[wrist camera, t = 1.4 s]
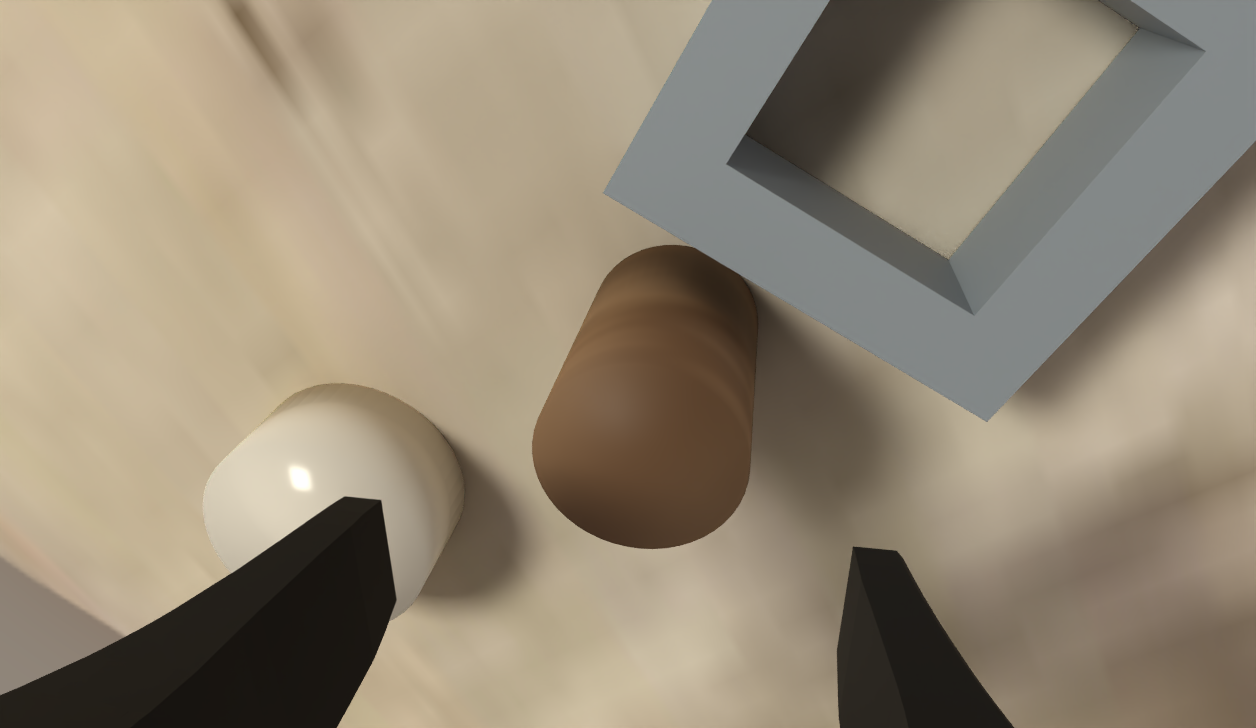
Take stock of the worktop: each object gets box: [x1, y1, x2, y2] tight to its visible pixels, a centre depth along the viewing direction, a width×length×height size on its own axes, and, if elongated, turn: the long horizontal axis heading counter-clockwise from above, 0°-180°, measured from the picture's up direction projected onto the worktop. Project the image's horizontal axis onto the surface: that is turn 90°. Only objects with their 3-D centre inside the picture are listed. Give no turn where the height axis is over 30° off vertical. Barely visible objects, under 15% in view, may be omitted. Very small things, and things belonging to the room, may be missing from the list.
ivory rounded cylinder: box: [203, 383, 465, 621], centre depth 24 cm, size 6×6×3 cm
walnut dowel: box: [532, 245, 758, 549], centre depth 19 cm, size 4×4×6 cm
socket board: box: [603, 0, 1256, 422], centre depth 17 cm, size 9×9×3 cm
